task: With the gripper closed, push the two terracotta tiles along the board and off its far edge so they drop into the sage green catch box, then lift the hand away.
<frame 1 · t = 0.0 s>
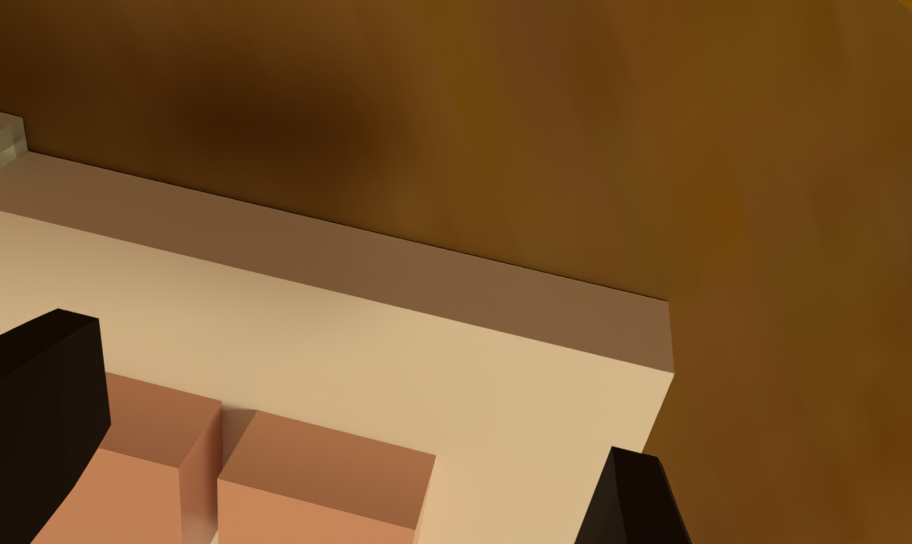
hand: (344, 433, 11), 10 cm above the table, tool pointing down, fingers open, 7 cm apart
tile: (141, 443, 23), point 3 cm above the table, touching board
board: (322, 411, 25), on the table
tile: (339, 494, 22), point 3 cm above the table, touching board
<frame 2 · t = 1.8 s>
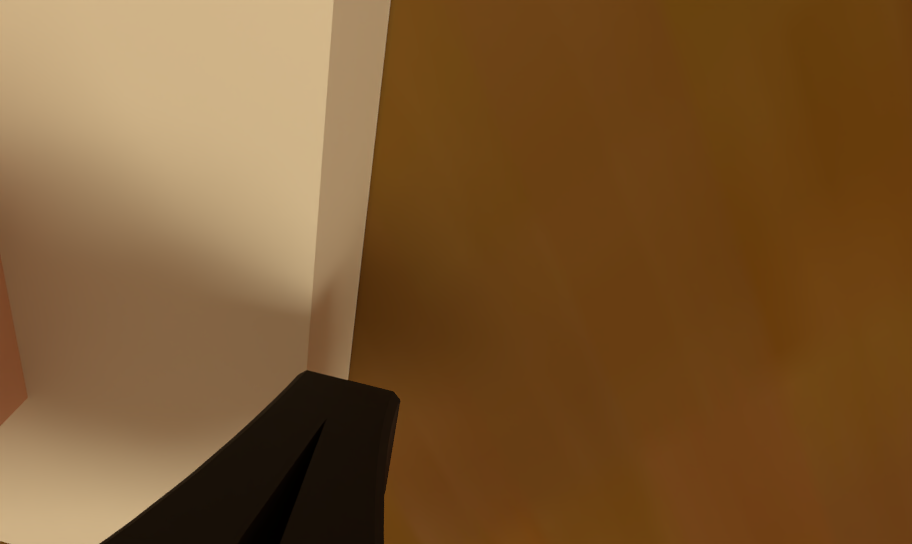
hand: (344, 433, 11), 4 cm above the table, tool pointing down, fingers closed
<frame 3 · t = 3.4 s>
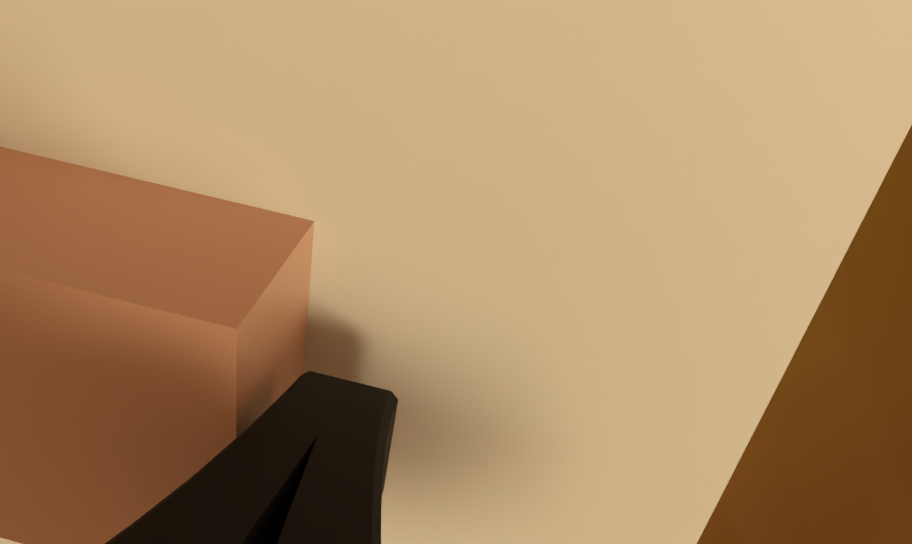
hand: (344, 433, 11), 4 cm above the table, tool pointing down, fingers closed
board: (235, 233, 15), on the table
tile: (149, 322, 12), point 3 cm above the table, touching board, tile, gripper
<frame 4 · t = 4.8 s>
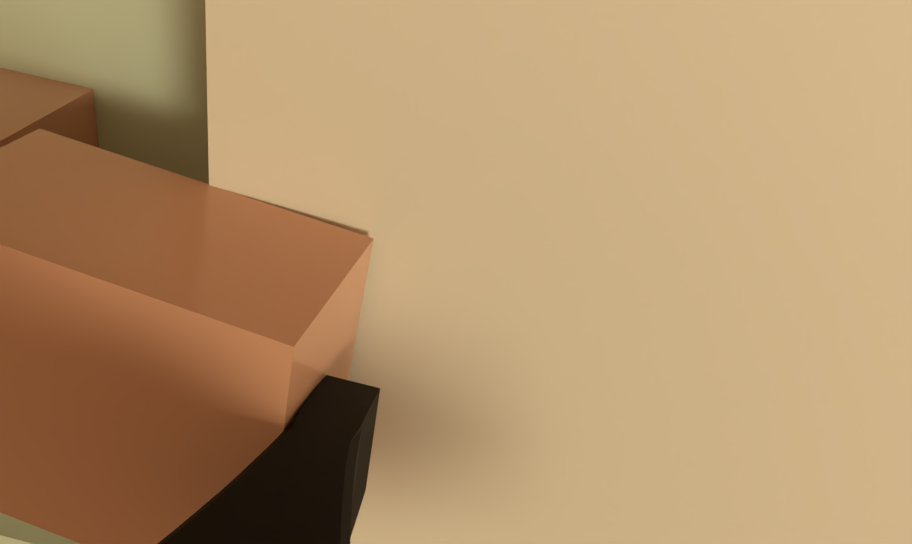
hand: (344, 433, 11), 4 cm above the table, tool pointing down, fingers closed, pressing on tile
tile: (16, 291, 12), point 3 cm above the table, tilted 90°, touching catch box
board: (761, 357, 14), on the table
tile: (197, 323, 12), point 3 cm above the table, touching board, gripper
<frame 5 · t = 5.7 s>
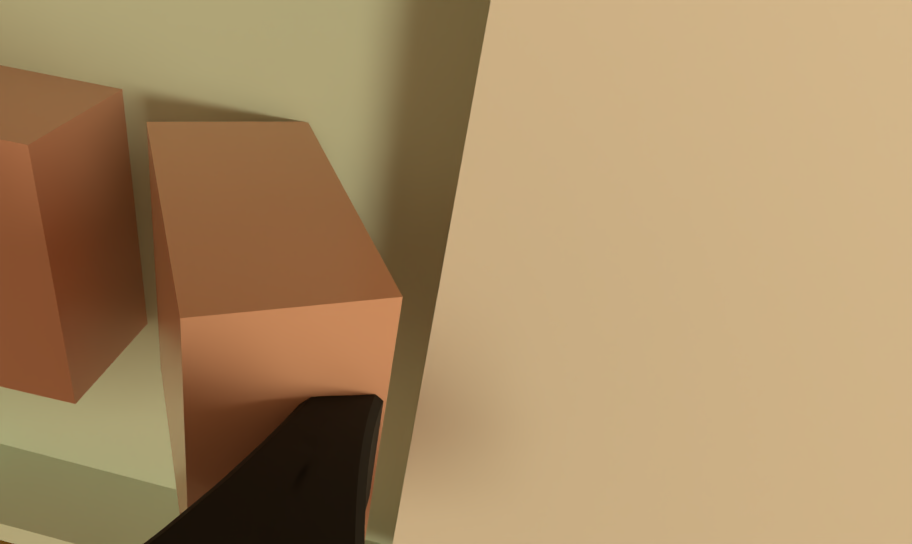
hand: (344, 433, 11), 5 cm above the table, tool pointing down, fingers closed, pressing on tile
catch box: (153, 206, 15), on the table
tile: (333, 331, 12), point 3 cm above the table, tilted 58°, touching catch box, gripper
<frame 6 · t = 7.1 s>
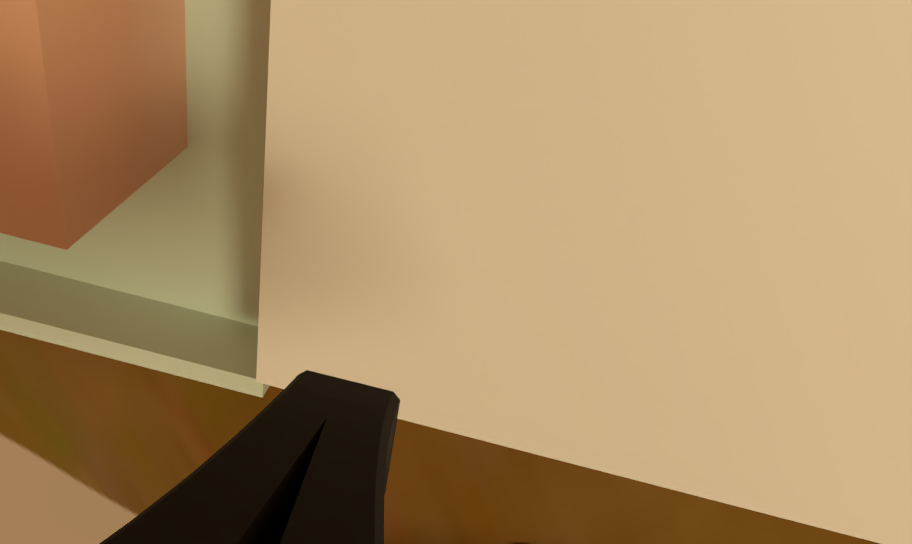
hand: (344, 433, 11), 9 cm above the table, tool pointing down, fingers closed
catch box: (71, 18, 18), on the table
board: (697, 166, 18), on the table
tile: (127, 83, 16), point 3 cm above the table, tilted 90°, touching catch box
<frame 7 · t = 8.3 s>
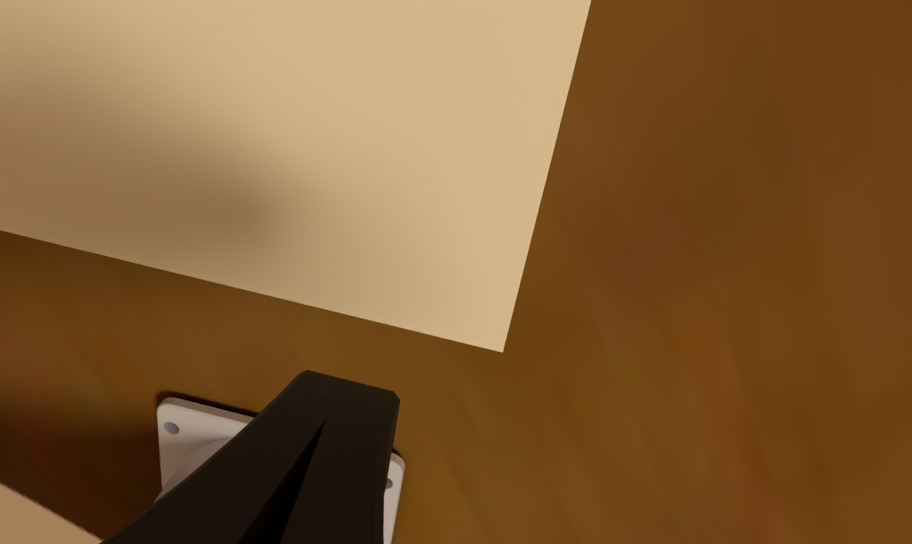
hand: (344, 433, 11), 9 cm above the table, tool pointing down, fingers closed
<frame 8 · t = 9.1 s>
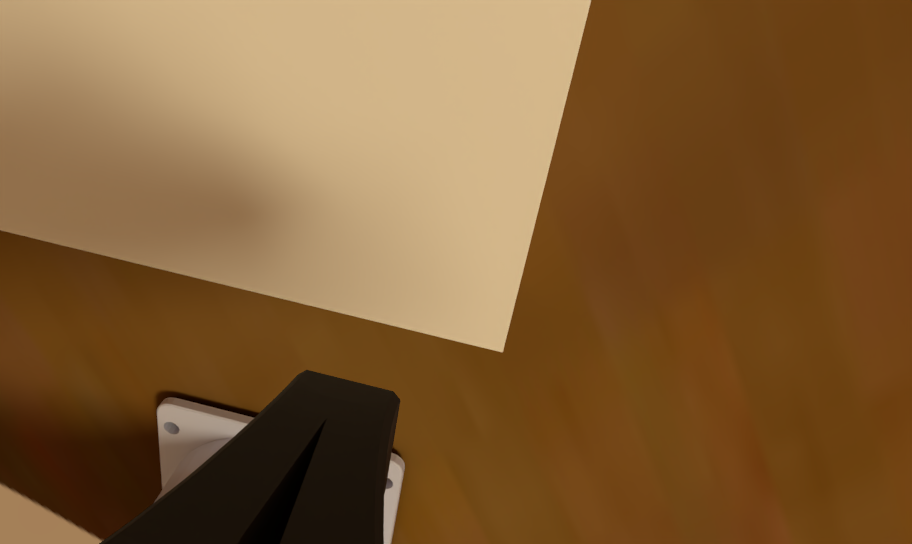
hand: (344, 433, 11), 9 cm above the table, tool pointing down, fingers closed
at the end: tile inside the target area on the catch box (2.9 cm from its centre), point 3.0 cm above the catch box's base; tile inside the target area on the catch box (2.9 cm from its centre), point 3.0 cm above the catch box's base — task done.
